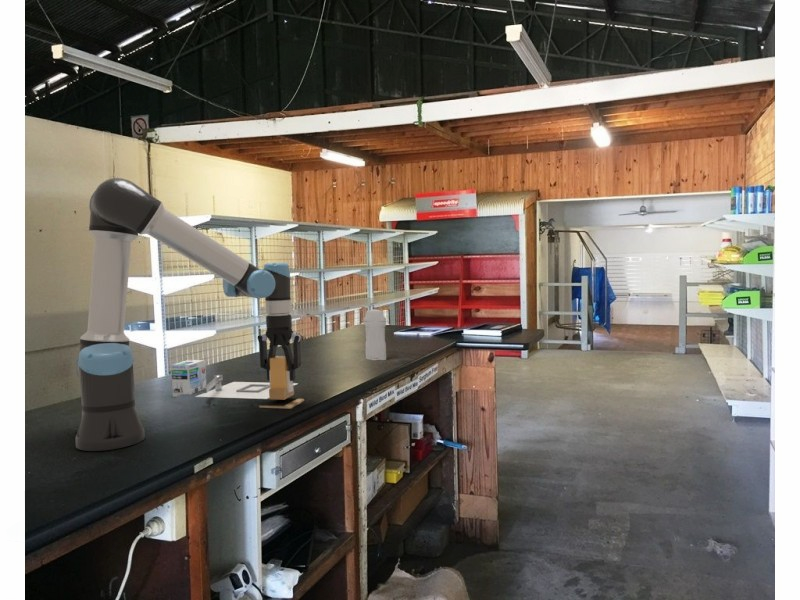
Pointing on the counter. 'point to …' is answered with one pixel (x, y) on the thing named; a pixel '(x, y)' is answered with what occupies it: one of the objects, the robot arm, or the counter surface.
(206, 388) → the silver metal bar
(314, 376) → the counter surface
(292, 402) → the tan flat l-shape
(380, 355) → the tall pale column
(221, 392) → the socket board
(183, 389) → the light bulb box
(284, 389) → the tan tall block
